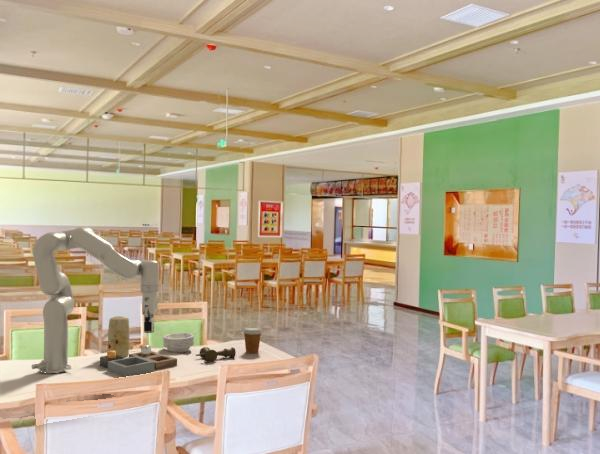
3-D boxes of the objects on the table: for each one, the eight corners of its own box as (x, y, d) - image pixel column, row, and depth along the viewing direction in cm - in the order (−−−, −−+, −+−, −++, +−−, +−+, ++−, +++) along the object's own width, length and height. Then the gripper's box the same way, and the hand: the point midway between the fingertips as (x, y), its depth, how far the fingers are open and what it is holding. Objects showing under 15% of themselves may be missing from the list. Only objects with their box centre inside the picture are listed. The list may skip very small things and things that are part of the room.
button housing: (107, 371, 238) (108, 359, 238) (99, 368, 243) (100, 356, 243) (122, 368, 244) (122, 357, 244) (114, 365, 248) (114, 354, 248)
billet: (147, 333, 239) (147, 317, 239) (142, 332, 242) (142, 316, 242) (156, 332, 242) (156, 316, 242) (150, 330, 245) (151, 315, 245)
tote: (125, 379, 226) (125, 367, 226) (107, 372, 236) (107, 361, 236) (154, 373, 237) (154, 361, 237) (136, 367, 246) (136, 355, 246)
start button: (109, 362, 241) (109, 352, 241) (105, 361, 243) (105, 351, 243) (117, 361, 244) (117, 351, 244) (113, 359, 246) (113, 349, 246)
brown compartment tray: (177, 367, 247) (177, 358, 247) (156, 372, 239) (156, 362, 239) (149, 358, 261) (149, 350, 261) (128, 362, 253) (129, 354, 253)
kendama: (238, 360, 265) (198, 363, 255) (230, 356, 273) (191, 359, 263) (238, 348, 265) (199, 350, 255) (230, 344, 273) (192, 347, 263)
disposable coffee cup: (240, 350, 282) (240, 327, 282) (257, 349, 287) (258, 326, 286) (246, 354, 274) (246, 330, 274) (264, 353, 278) (264, 329, 278)
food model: (127, 356, 266) (128, 315, 266) (130, 359, 260) (131, 317, 260) (106, 358, 261) (107, 316, 261) (109, 361, 255) (109, 318, 255)
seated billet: (144, 362, 251) (144, 347, 251) (139, 360, 254) (139, 345, 253) (152, 360, 254) (153, 345, 254) (147, 359, 257) (147, 344, 257)
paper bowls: (157, 350, 279) (157, 335, 279) (183, 346, 289) (183, 331, 289) (173, 356, 268) (173, 339, 268) (199, 351, 279) (199, 336, 279)
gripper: (153, 290, 234) (153, 333, 234) (162, 286, 250) (161, 326, 251) (135, 290, 233) (135, 333, 233) (145, 286, 250) (145, 326, 250)
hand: (149, 329), depth 242 cm, fingers closed on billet, 4 cm apart
